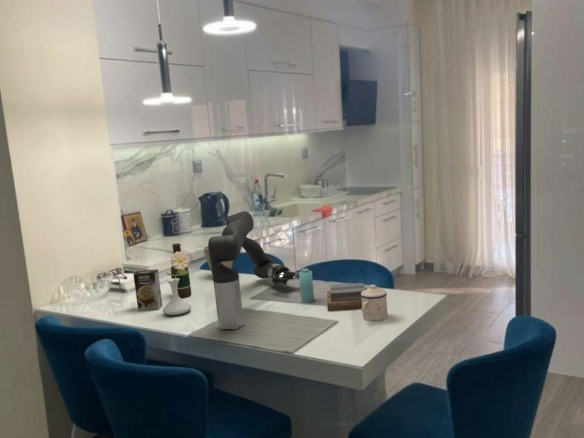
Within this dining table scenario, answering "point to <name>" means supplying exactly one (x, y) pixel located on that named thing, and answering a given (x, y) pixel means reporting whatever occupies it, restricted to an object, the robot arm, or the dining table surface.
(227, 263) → the plant pot
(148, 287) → the coffee box
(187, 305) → the flower in vase
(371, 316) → the teacup with lid
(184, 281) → the beer bottle
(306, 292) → the teal bottle
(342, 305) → the tower base
